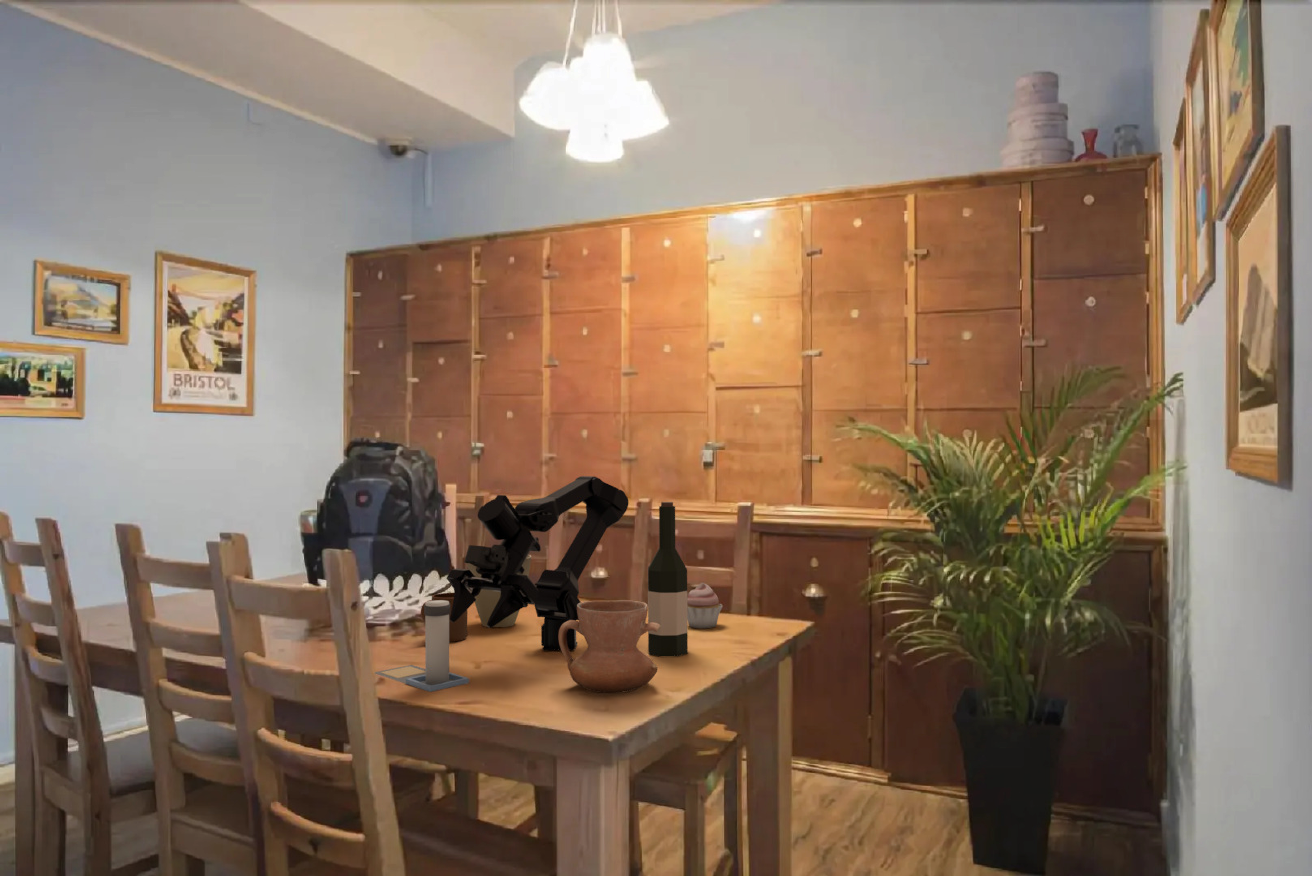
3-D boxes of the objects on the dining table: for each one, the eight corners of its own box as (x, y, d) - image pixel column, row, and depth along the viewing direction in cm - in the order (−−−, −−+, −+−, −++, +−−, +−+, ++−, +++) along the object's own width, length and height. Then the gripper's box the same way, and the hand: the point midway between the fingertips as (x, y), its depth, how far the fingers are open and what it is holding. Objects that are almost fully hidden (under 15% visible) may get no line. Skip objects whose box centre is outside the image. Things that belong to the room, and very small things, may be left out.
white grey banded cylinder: (449, 678, 159) (449, 599, 159) (451, 685, 155) (451, 603, 155) (423, 681, 158) (423, 600, 158) (425, 687, 154) (425, 605, 154)
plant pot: (481, 634, 199) (481, 561, 199) (456, 623, 211) (456, 555, 211) (542, 626, 207) (542, 556, 207) (515, 616, 219) (515, 550, 219)
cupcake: (678, 629, 203) (678, 585, 203) (686, 621, 212) (686, 578, 212) (719, 631, 201) (719, 586, 201) (726, 623, 210) (725, 580, 210)
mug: (435, 648, 185) (435, 602, 185) (408, 644, 189) (408, 599, 189) (474, 637, 195) (474, 593, 195) (448, 634, 199) (448, 591, 199)
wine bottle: (640, 655, 178) (640, 503, 178) (655, 646, 186) (654, 500, 186) (680, 658, 175) (680, 503, 175) (694, 649, 183) (693, 501, 183)
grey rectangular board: (372, 674, 164) (372, 668, 164) (411, 666, 170) (411, 660, 170) (430, 693, 151) (430, 687, 151) (470, 684, 157) (470, 678, 157)
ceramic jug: (670, 679, 159) (669, 599, 160) (650, 702, 145) (649, 614, 145) (573, 673, 164) (573, 595, 164) (545, 695, 150) (544, 609, 150)
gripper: (453, 526, 173) (409, 592, 163) (527, 530, 162) (485, 601, 153) (482, 562, 179) (442, 628, 170) (555, 568, 169) (517, 639, 160)
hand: (469, 623), depth 163 cm, fingers open, 9 cm apart
